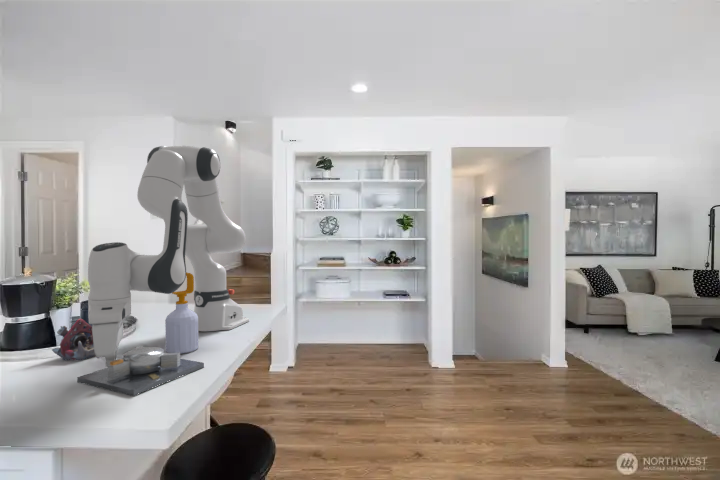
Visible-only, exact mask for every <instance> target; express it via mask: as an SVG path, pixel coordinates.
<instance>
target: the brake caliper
mask: <svg viewBox="0 0 720 480" xmlns="http://www.w3.org/2000/svg"><path fill="white" fill-rule="evenodd" d="M84 327H85V328H84ZM75 329H76V330H75ZM85 333H86V334H89V336H88V337H87V335H86V334H85ZM57 334H58V336H61V337H62V338H61V341H60V343H59V347H54V348H52V349H51V351H52V352H53V353H54V354H55V355H57V356H59V358H61V359H62V360H63V361H84V360H86V359H87V360H88V359H89V358H93V357H96V355H95V351H94V344H93V334H92V325H91V324H89V323H87V322H86V320H84V319H82V318H78V319H77V320H76V321H75V323H73V324H72V326H71V327H70V329H69V330H68V327H67V326H66V325H63V326H62V325H61V326H60V328H59V329H58V331H57Z"/></svg>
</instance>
